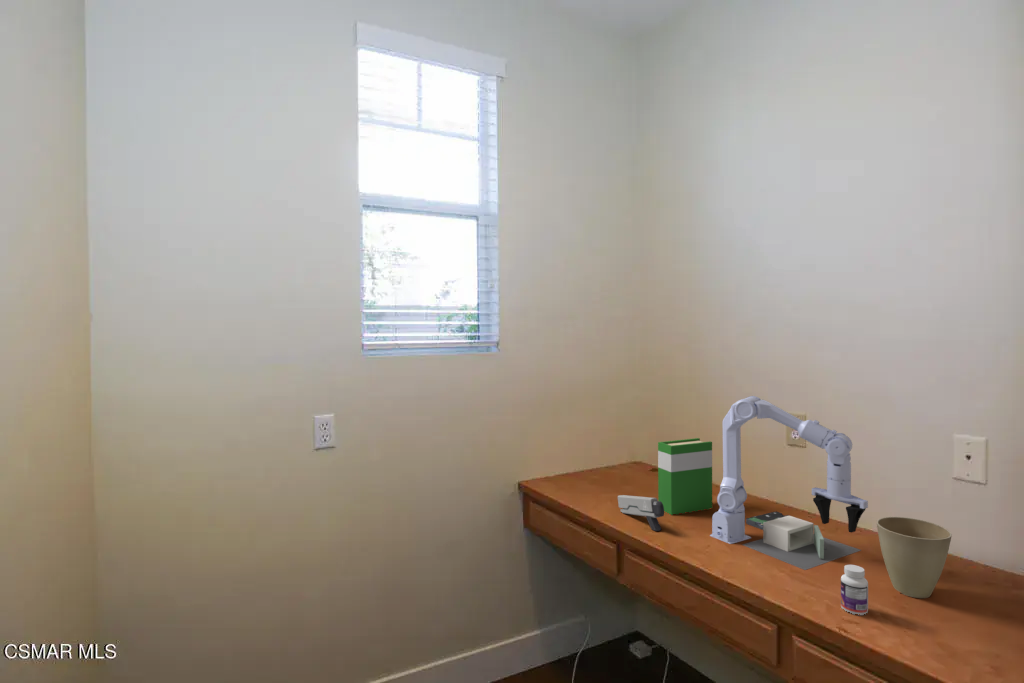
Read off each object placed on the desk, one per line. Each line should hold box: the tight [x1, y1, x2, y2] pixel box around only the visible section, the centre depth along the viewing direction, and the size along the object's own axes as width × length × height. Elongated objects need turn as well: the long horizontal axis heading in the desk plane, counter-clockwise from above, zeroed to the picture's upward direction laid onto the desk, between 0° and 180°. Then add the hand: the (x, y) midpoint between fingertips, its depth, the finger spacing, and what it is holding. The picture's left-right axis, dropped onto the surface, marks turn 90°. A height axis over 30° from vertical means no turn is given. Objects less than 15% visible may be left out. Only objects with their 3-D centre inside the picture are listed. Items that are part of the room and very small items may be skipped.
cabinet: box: [762, 515, 815, 551], centre depth 168 cm, size 12×8×6 cm, turn 119°
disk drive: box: [745, 510, 790, 531], centre depth 183 cm, size 10×3×15 cm
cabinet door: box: [814, 524, 827, 559], centre depth 161 cm, size 12×2×5 cm, turn 159°
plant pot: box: [876, 516, 953, 599], centre depth 137 cm, size 15×15×16 cm
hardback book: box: [657, 437, 713, 516], centre depth 201 cm, size 18×7×24 cm, turn 111°
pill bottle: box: [840, 564, 869, 616], centre depth 129 cm, size 5×5×10 cm
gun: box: [617, 494, 665, 532], centre depth 188 cm, size 2×25×10 cm, turn 21°
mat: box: [741, 536, 862, 571], centre depth 164 cm, size 26×20×1 cm
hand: (838, 527), depth 155 cm, fingers open, 7 cm apart
